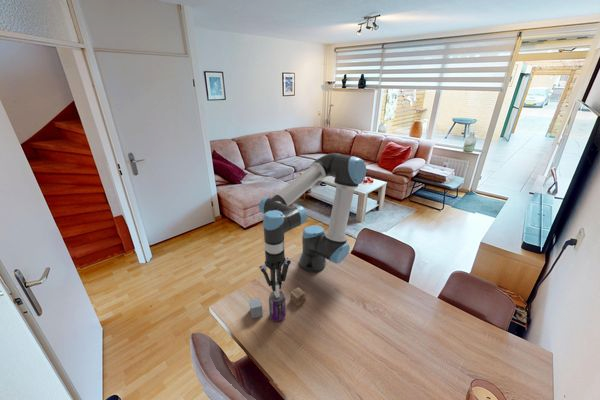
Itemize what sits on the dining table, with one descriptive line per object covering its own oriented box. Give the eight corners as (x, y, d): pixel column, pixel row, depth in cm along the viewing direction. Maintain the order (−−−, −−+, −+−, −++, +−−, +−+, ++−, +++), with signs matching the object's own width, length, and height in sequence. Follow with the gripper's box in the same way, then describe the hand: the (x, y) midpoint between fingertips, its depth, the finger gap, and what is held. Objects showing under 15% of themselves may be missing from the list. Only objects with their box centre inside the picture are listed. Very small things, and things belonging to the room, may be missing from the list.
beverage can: (285, 322, 111) (284, 302, 106) (268, 322, 111) (267, 301, 106) (286, 309, 117) (285, 289, 112) (270, 309, 117) (269, 289, 112)
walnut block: (298, 295, 125) (298, 287, 123) (305, 300, 122) (305, 292, 120) (290, 300, 122) (290, 292, 120) (297, 306, 119) (297, 298, 117)
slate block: (261, 307, 118) (260, 297, 116) (262, 315, 114) (261, 305, 111) (250, 310, 117) (249, 300, 114) (251, 318, 113) (250, 308, 110)
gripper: (286, 240, 105) (287, 284, 115) (255, 248, 100) (259, 294, 109) (293, 249, 99) (294, 295, 108) (261, 259, 93) (265, 306, 103)
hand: (276, 295), depth 109 cm, fingers closed
